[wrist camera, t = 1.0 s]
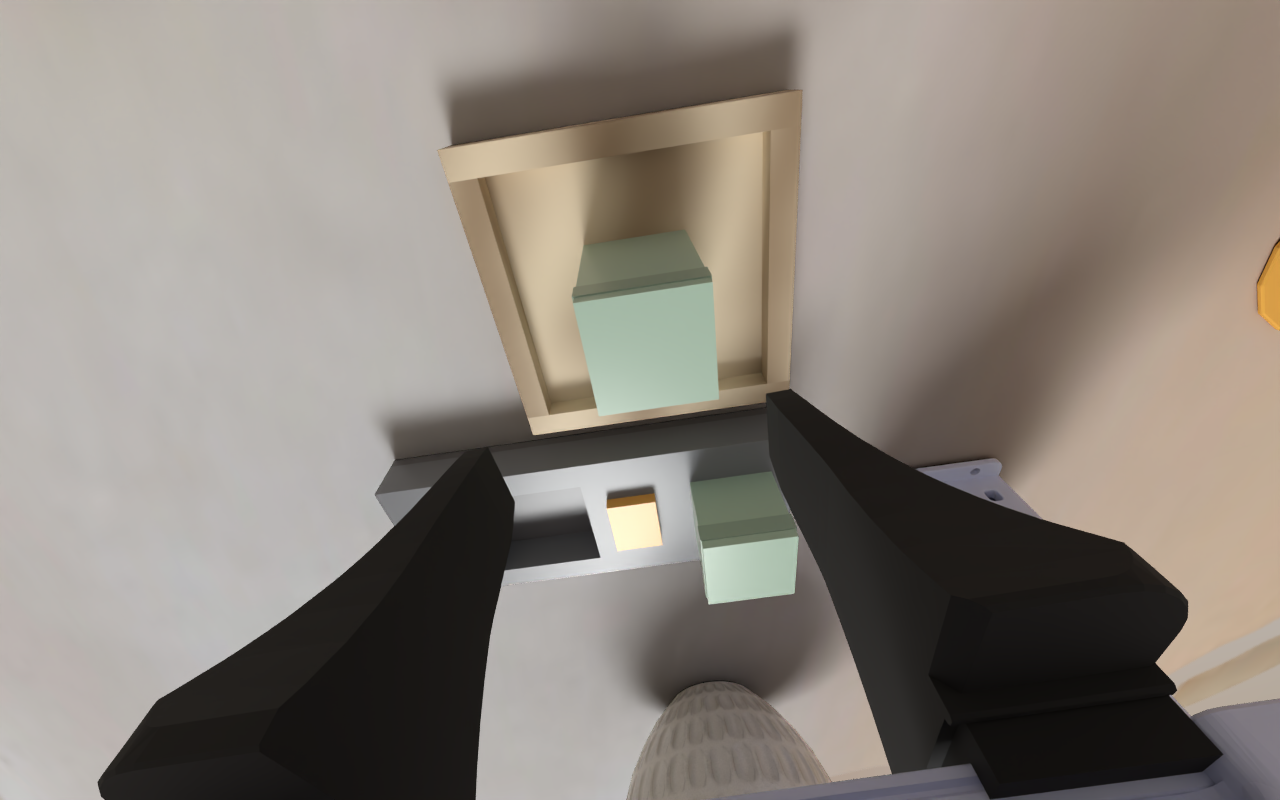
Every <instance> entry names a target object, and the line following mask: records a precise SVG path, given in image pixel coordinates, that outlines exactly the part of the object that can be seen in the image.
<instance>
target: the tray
mask: <svg viewBox="0 0 1280 800" xmlns="http://www.w3.org/2000/svg"><path fill="white" fill-rule="evenodd" d="M801 111H802V90H784V91H778V92H772V93H765V94H759V95H753V96H747V97H741V98H735V99H729V100H723V101H717V102H711V103H705V104H699V105H693V106H687V107H681V108H675V109H669V110H663V111H657V112H651V113H645V114H639V115H633V116H627V117H620V118H614V119H608V120H602V121H596V122H590V123H584V124H578V125H572V126H566V127H560V128H554V129H548V130H542V131H536V132H530V133H524V134H518V135H512V136H506V137H500V138H494V139H488V140H482V141H475V142H469V143H463V144H457V145H451V146H448V147H445V148H442V149H440V150H437V151H438V154H439V157H440V160H441V163H442V166H443V168H444V171H445V174H446V177H447V180H448V183H449V186H450V189H451V192H452V195H453V198H454V201H455V204H456V207H457V210H458V213H459V216H460V219H461V222H462V225H463V228H464V231H465V234H466V237H467V240H468V243H469V246H470V249H471V252H472V255H473V258H474V261H475V264H476V267H477V269H478V272H479V275H480V278H481V281H482V284H483V287H484V290H485V293H486V296H487V299H488V302H489V305H490V308H491V311H492V314H493V317H494V320H495V323H496V326H497V329H498V332H499V335H500V338H501V341H502V344H503V347H504V350H505V353H506V356H507V359H508V362H509V365H510V368H511V370H512V373H513V376H514V379H515V382H516V385H517V388H518V391H519V394H520V397H521V400H522V403H523V406H524V409H525V412H526V415H527V418H528V421H529V424H530V427H531V430H532V433H533V435H539V434H546V433H553V432H560V431H567V430H574V429H581V428H588V427H595V426H602V425H609V424H616V423H623V422H630V421H637V420H644V419H651V418H658V417H665V416H672V415H679V414H686V413H693V412H700V411H707V410H714V409H721V408H728V407H736V406H743V405H750V404H757V403H764V402H766V394H767V393H772V392H777V391H782V390H787V389H789V382H790V360H791V337H792V314H793V292H794V269H795V247H796V224H797V202H798V179H799V156H800V134H801ZM678 230H686V232H687V234H688V236H689V238H690V240H691V242H692V244H693V245H694V247H695V249H696V251H697V253H698V255H699V257H700V259H701V261H702V263H703V264H704V266H705V267H708V269H709V271H710V273H711V275H712V282H713V296H714V315H715V333H716V351H717V369H718V388H719V399H717V400H710V401H703V402H696V403H689V404H682V405H675V406H668V407H661V408H654V409H647V410H640V411H633V412H626V413H619V414H612V415H605V416H599V415H598V410H597V406H596V402H595V397H594V393H593V389H592V384H591V380H590V376H589V371H588V367H587V363H586V358H585V354H584V350H583V345H582V341H581V337H580V332H579V328H578V324H577V320H576V315H575V311H574V307H573V301H572V292H573V287H576V283H577V277H578V272H579V267H580V261H581V256H582V250H583V245H589V244H595V243H601V242H608V241H614V240H621V239H627V238H633V237H640V236H646V235H653V234H659V233H665V232H672V231H678Z"/></svg>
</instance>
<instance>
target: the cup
mask: <svg viewBox="0 0 1280 800" xmlns="http://www.w3.org/2000/svg"><path fill="white" fill-rule="evenodd" d="M1257 293H1258V313H1259V314H1260V315H1261V316H1262V317H1263V318H1264V319H1265V320H1266V321H1267V322H1268V323H1269V324H1271V325H1272V326H1273V327H1274V328H1275V329H1277V330H1280V241H1279V242H1278V243H1277V244H1276V246H1275V247H1274V249H1273V251H1272V254H1271V256H1270V258H1269V260H1268V262H1267V264H1266V266H1265V268H1264V271H1263V273H1262V275H1261V277H1260V279H1259V281H1258V283H1257Z"/></svg>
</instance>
